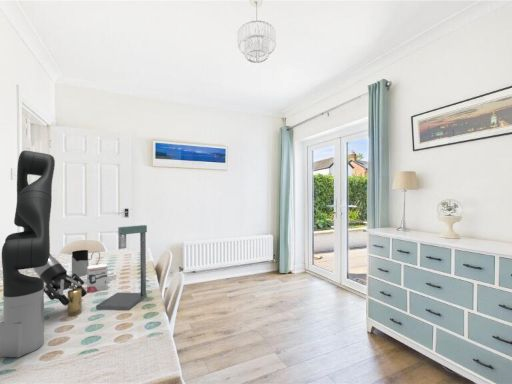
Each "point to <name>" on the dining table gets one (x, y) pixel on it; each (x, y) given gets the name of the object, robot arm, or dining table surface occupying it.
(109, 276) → the white brass knuckles
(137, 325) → the dining table surface
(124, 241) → the stand
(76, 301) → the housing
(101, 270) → the ink box
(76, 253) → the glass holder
